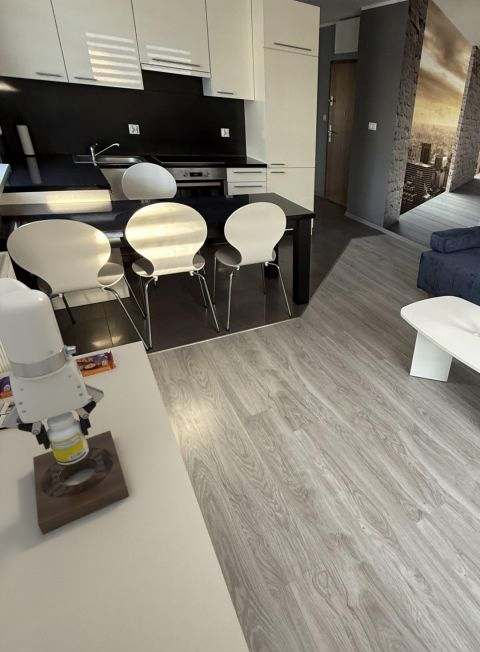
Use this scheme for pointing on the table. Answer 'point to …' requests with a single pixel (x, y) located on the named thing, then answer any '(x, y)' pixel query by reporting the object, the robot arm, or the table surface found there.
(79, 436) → the supplement bottle
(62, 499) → the socket pad
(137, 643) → the table surface
